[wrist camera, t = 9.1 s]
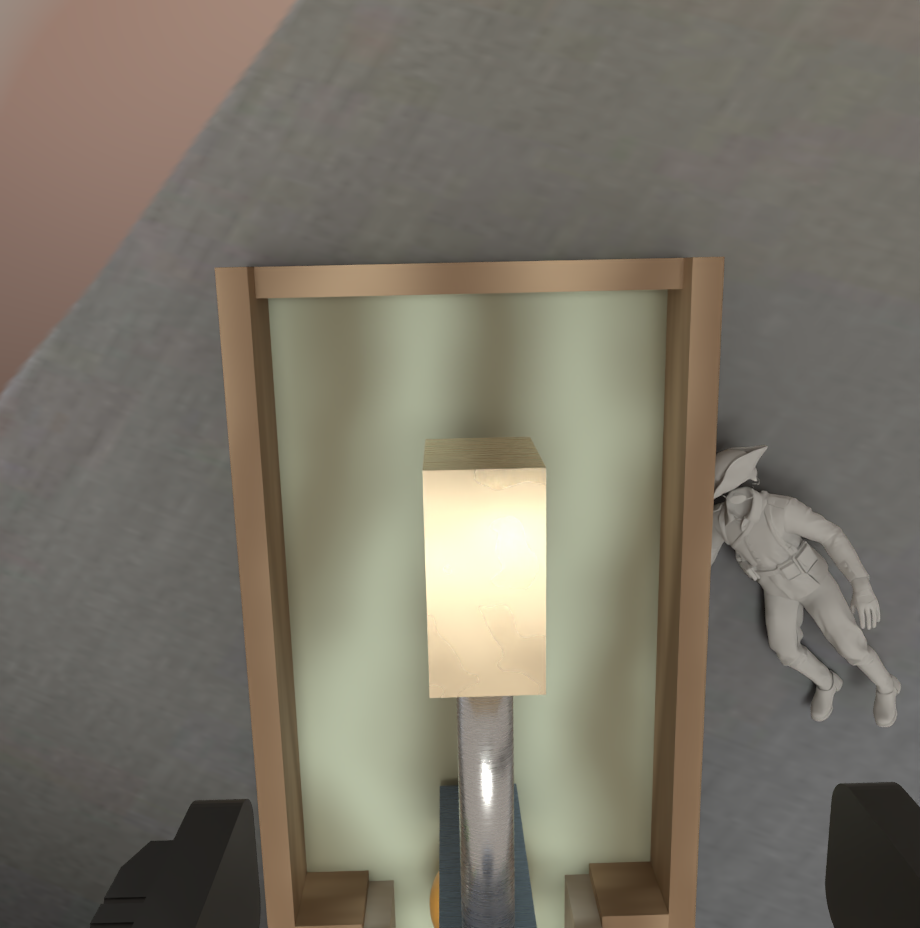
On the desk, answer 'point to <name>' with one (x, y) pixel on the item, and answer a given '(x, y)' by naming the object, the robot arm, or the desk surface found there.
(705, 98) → the desk surface
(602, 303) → the pitch
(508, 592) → the foosball rod
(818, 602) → the soldier figure
